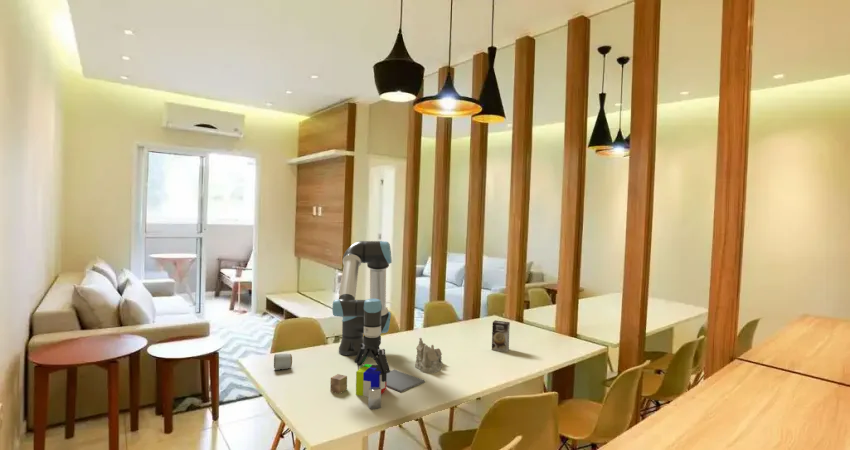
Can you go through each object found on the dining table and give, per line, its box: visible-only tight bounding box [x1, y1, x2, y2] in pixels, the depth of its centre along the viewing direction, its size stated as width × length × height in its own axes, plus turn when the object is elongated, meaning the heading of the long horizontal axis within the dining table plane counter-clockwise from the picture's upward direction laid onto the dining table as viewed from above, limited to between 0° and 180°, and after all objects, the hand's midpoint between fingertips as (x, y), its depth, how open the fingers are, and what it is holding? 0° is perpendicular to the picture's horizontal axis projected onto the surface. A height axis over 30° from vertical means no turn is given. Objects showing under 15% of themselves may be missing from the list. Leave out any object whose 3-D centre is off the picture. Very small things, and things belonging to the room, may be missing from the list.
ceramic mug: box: [273, 352, 293, 371], centre depth 210 cm, size 11×8×8 cm
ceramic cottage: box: [414, 337, 444, 374], centre depth 216 cm, size 16×16×15 cm
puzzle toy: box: [355, 363, 387, 398], centre depth 183 cm, size 10×10×10 cm
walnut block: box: [330, 373, 348, 394], centre depth 184 cm, size 5×5×6 cm
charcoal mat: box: [386, 369, 426, 393], centre depth 195 cm, size 20×16×1 cm
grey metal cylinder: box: [367, 387, 382, 411], centre depth 169 cm, size 5×5×7 cm
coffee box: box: [491, 320, 511, 353], centre depth 245 cm, size 9×6×16 cm
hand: (371, 384), depth 183 cm, fingers open, 13 cm apart
